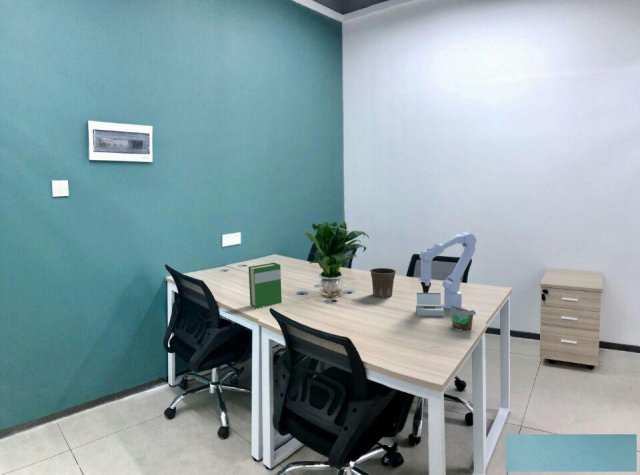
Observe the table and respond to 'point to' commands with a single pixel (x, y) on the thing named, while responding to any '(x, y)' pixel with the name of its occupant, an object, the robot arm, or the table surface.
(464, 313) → the food container
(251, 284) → the hardback book
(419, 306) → the grey slotted block
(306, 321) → the table surface
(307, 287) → the table surface
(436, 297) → the cover
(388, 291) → the plant pot
